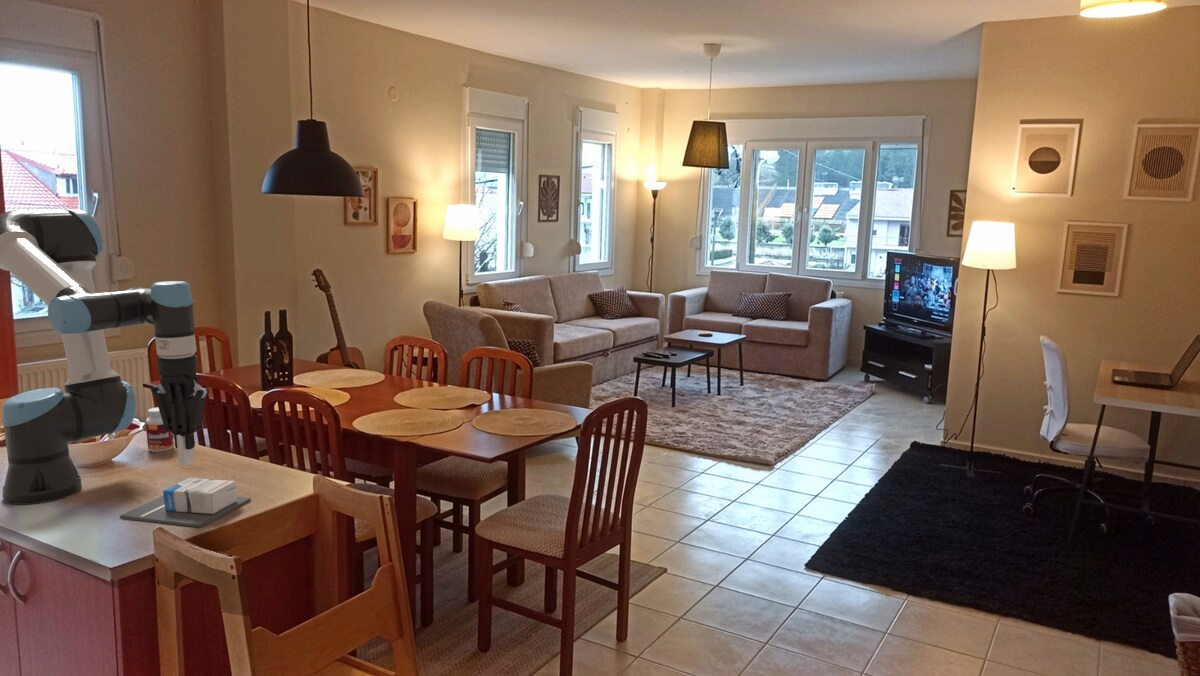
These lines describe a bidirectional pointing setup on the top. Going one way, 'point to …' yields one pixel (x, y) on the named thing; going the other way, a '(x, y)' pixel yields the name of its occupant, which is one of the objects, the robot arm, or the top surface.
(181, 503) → the ink box
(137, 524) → the top surface
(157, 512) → the mat
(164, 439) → the pill bottle
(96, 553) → the top surface
